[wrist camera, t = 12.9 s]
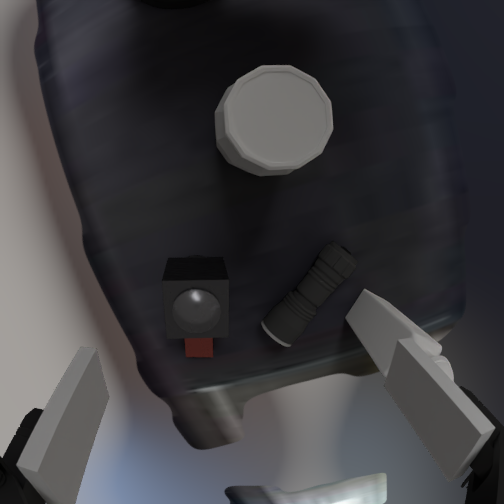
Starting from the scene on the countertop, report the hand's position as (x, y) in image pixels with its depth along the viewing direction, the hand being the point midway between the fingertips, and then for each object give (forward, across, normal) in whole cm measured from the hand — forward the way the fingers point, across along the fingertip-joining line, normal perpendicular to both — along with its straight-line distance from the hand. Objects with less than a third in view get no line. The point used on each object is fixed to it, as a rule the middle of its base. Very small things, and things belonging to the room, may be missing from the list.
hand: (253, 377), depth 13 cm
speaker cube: (+28, -4, -7) cm, 30 cm away
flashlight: (+31, +11, -9) cm, 34 cm away
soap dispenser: (+31, +22, -13) cm, 40 cm away
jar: (+31, +3, +12) cm, 33 cm away
